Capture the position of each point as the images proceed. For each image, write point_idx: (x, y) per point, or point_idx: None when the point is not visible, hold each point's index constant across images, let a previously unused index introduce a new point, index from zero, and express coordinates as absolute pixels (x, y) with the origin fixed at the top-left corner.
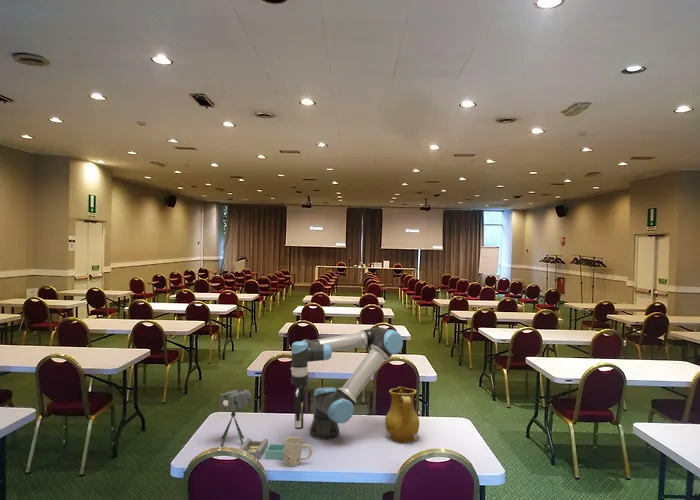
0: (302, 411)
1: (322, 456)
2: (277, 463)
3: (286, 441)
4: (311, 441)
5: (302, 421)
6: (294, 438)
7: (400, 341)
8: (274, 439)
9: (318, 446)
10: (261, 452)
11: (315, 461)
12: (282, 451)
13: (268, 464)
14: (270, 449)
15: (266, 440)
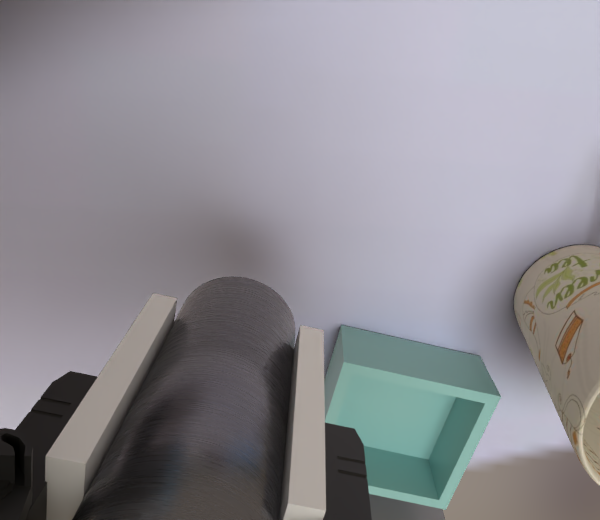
0: (238, 494)
1: (488, 13)
2: (536, 393)
3: (593, 455)
4: (78, 96)
5: (260, 346)
6: (587, 394)
7: None
8: None
9: (214, 32)
10: (413, 508)
11: (591, 100)
12: (497, 403)
13: (535, 444)
14: None
15: None
